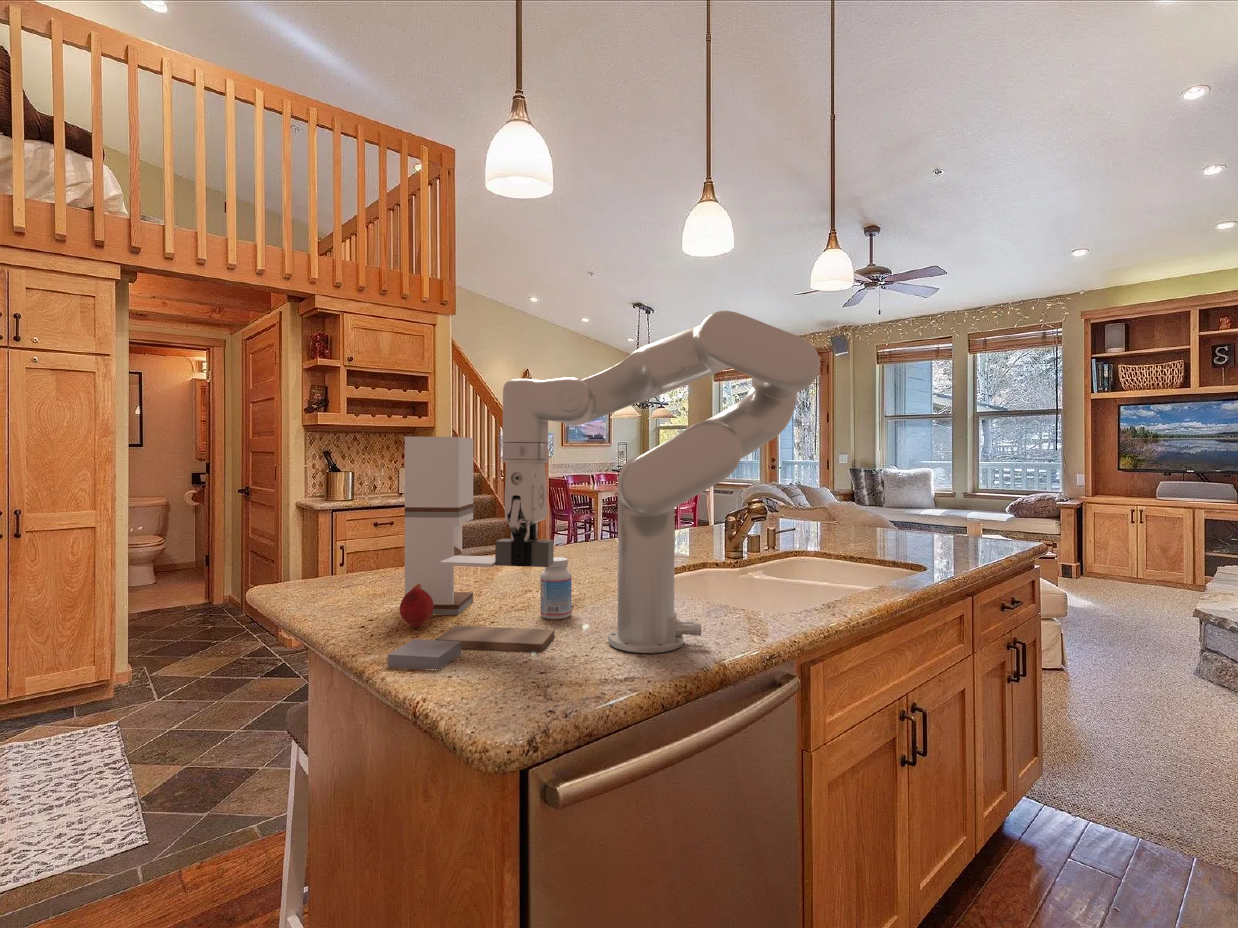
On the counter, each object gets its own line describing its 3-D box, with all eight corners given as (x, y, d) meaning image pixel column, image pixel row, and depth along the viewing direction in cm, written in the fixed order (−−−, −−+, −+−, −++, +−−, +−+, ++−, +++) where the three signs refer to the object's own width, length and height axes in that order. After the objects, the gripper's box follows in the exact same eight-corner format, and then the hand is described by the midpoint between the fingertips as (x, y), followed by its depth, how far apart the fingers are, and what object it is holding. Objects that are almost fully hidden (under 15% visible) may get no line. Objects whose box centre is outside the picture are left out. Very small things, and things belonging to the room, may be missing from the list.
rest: (554, 636, 110) (554, 629, 110) (541, 651, 101) (541, 644, 101) (455, 632, 112) (455, 625, 112) (434, 646, 104) (434, 639, 104)
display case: (458, 615, 124) (458, 436, 124) (404, 614, 124) (404, 436, 124) (473, 601, 136) (473, 438, 135) (423, 601, 136) (423, 438, 135)
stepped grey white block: (555, 561, 109) (555, 538, 109) (545, 568, 102) (545, 544, 102) (455, 558, 111) (455, 535, 111) (439, 565, 104) (439, 541, 104)
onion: (423, 633, 111) (423, 587, 111) (393, 631, 113) (393, 586, 112) (439, 624, 117) (439, 581, 117) (410, 622, 118) (410, 580, 118)
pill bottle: (577, 615, 125) (577, 558, 124) (558, 621, 119) (558, 562, 119) (553, 610, 128) (553, 555, 128) (533, 617, 123) (533, 559, 123)
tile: (461, 641, 100) (438, 657, 92) (461, 655, 100) (438, 672, 92) (414, 638, 101) (387, 654, 94) (414, 653, 101) (387, 669, 94)
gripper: (534, 454, 97) (533, 573, 97) (558, 454, 113) (557, 556, 114) (486, 453, 98) (486, 572, 98) (518, 454, 114) (517, 555, 115)
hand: (524, 562), depth 106 cm, fingers closed on stepped grey white block, 3 cm apart
